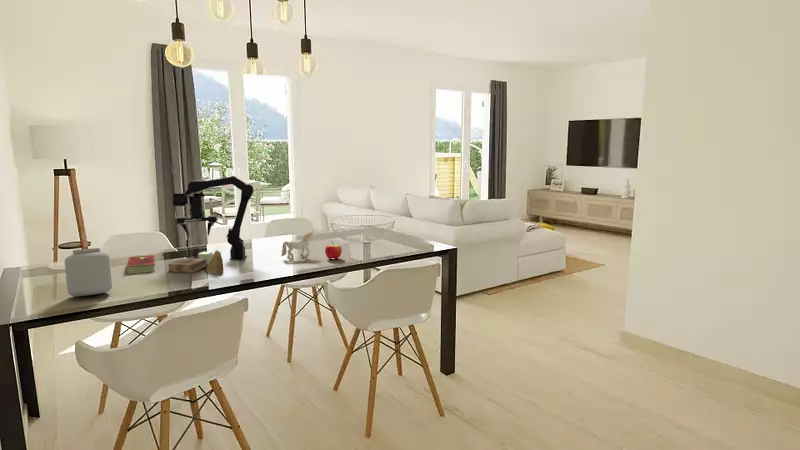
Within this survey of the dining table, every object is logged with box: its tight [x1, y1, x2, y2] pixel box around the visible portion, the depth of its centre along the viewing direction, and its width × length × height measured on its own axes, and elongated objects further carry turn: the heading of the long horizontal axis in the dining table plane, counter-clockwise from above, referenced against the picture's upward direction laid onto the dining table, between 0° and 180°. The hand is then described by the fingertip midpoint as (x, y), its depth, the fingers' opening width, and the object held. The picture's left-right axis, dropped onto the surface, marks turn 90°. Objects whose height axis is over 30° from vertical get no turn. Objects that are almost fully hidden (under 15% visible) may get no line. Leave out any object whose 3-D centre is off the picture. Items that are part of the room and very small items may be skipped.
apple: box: [324, 240, 343, 261], centre depth 255 cm, size 8×8×10 cm
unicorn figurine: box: [280, 230, 314, 261], centre depth 256 cm, size 7×20×13 cm, turn 129°
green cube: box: [197, 251, 214, 265], centre depth 247 cm, size 5×5×5 cm
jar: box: [64, 231, 113, 297], centre depth 191 cm, size 19×15×25 cm
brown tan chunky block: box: [205, 250, 224, 275], centre depth 227 cm, size 11×9×10 cm
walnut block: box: [168, 257, 207, 273], centre depth 234 cm, size 12×12×4 cm
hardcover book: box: [125, 254, 157, 275], centre depth 236 cm, size 12×21×4 cm, turn 25°
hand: (198, 236), depth 249 cm, fingers open, 9 cm apart
